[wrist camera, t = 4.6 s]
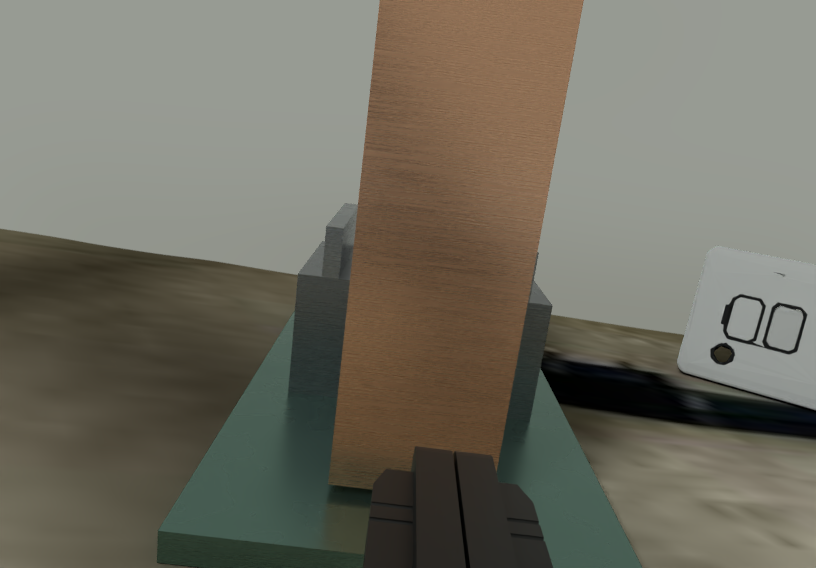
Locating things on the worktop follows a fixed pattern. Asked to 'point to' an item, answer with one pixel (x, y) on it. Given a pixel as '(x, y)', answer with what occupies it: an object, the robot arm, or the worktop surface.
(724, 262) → the electrical switch
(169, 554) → the base
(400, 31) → the upright wooden plank
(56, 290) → the worktop surface
